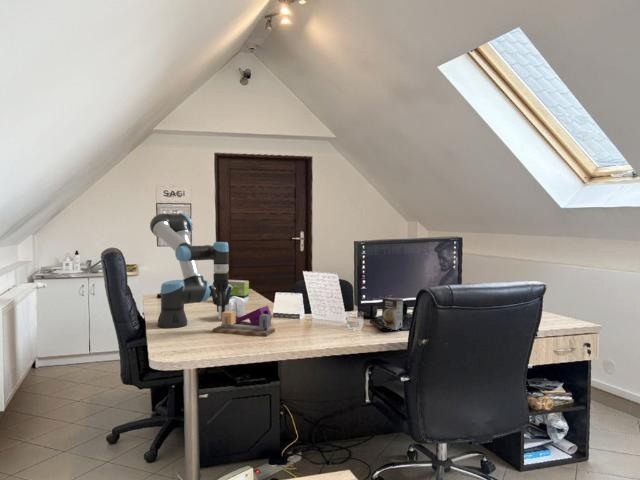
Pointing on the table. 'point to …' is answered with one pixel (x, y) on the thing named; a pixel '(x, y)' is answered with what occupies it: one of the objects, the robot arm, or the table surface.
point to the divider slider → (228, 318)
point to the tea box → (239, 289)
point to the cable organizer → (236, 306)
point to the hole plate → (243, 331)
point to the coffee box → (392, 312)
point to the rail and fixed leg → (263, 325)
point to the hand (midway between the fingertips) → (221, 318)
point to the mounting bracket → (254, 316)
